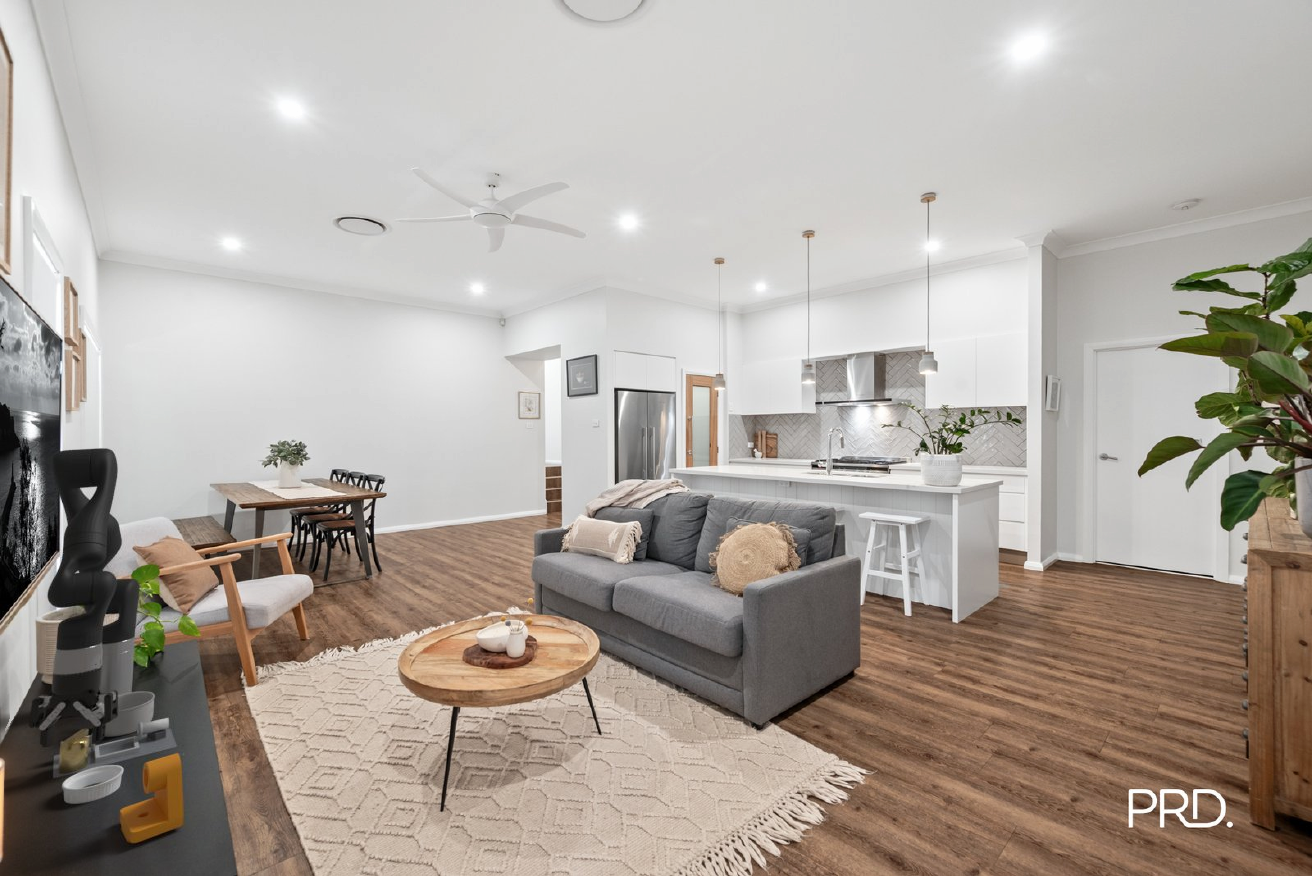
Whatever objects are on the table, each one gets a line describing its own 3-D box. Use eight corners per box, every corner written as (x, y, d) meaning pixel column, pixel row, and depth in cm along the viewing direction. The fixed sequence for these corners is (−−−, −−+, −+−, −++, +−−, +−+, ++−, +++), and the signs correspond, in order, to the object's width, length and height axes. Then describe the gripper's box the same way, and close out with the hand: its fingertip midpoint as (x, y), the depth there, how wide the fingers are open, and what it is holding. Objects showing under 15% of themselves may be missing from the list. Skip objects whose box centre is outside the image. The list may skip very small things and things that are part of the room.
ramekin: (68, 817, 112) (70, 794, 112) (54, 801, 116) (55, 779, 117) (129, 795, 119) (130, 773, 119) (113, 781, 124) (114, 760, 124)
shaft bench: (52, 784, 122) (54, 755, 122) (53, 761, 131) (55, 734, 131) (176, 752, 136) (178, 726, 136) (170, 733, 145) (171, 709, 145)
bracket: (118, 823, 110) (122, 758, 111) (167, 806, 116) (171, 744, 116) (131, 849, 104) (135, 779, 104) (182, 830, 109) (186, 764, 110)
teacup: (162, 729, 147) (164, 696, 147) (107, 748, 137) (109, 713, 137) (132, 717, 153) (134, 685, 153) (77, 734, 143) (79, 701, 143)
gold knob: (75, 775, 123) (77, 742, 124) (49, 777, 122) (51, 743, 123) (95, 759, 130) (97, 728, 130) (71, 761, 129) (73, 729, 129)
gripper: (23, 675, 121) (17, 756, 120) (106, 670, 125) (101, 749, 124) (50, 662, 128) (44, 739, 128) (128, 659, 132) (123, 733, 131)
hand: (72, 744), depth 126 cm, fingers open, 8 cm apart
